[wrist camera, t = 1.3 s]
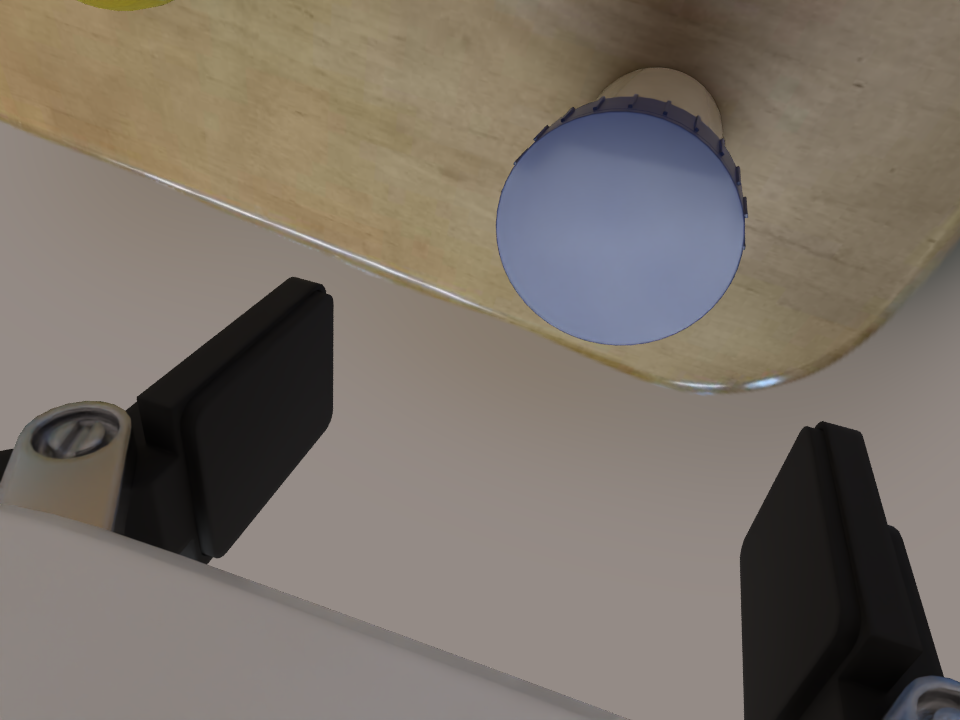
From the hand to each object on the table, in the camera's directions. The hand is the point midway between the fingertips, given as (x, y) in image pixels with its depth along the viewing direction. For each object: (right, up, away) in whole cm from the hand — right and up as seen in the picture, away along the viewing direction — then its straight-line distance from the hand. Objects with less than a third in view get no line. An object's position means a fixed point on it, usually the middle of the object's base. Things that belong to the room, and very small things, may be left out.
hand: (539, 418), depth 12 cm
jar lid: (+3, +4, +7) cm, 9 cm away
